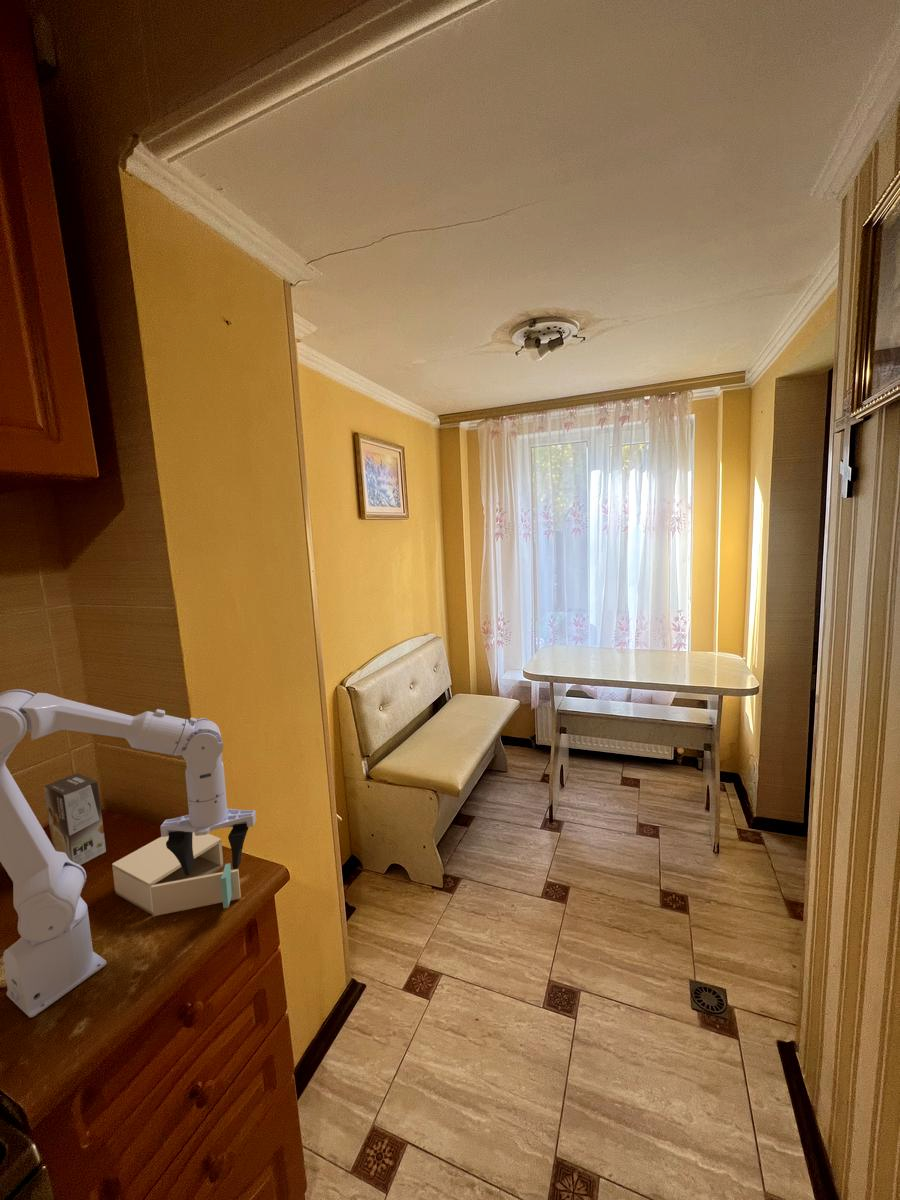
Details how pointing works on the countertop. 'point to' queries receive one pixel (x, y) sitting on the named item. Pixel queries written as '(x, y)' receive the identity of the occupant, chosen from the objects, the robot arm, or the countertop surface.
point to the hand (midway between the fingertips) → (213, 868)
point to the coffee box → (75, 818)
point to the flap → (196, 892)
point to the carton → (162, 868)
